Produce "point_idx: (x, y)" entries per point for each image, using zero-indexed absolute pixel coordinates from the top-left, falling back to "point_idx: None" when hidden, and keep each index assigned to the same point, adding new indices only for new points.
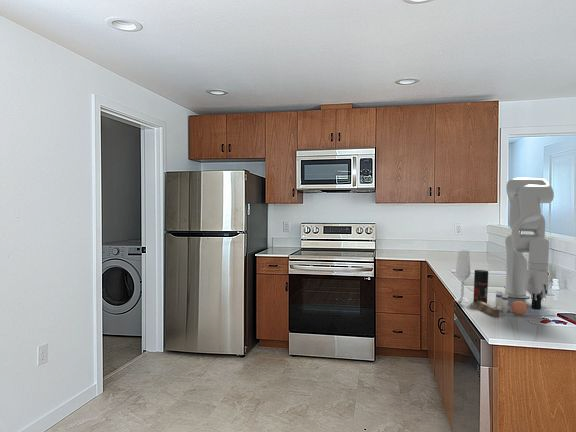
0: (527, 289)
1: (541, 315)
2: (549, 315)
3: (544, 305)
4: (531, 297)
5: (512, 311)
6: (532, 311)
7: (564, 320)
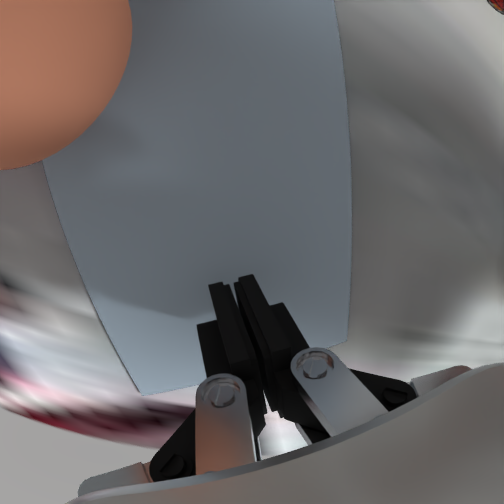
0: (456, 417)
1: (94, 303)
2: (123, 363)
3: (429, 368)
4: (332, 364)
5: (196, 22)
6: (249, 266)
7: (30, 399)
